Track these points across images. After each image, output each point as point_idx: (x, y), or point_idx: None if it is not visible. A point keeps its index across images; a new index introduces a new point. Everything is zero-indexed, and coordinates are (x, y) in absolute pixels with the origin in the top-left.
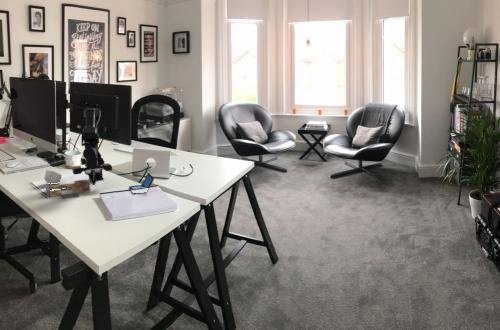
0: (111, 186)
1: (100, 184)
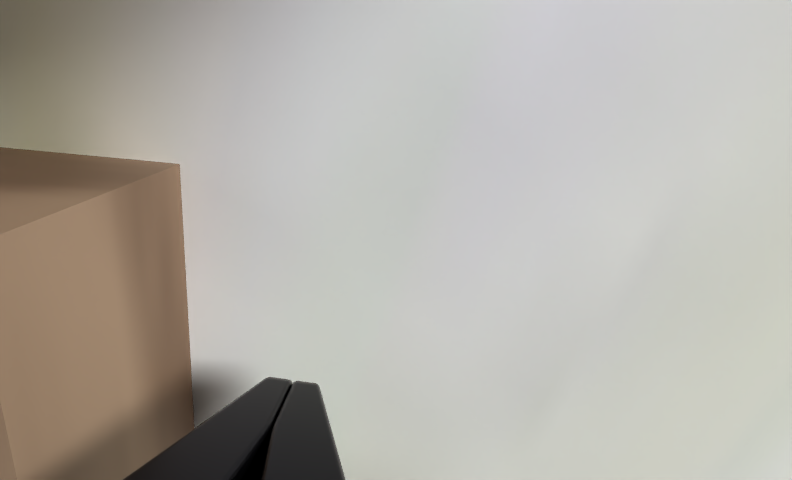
0: (723, 430)
1: (612, 75)
